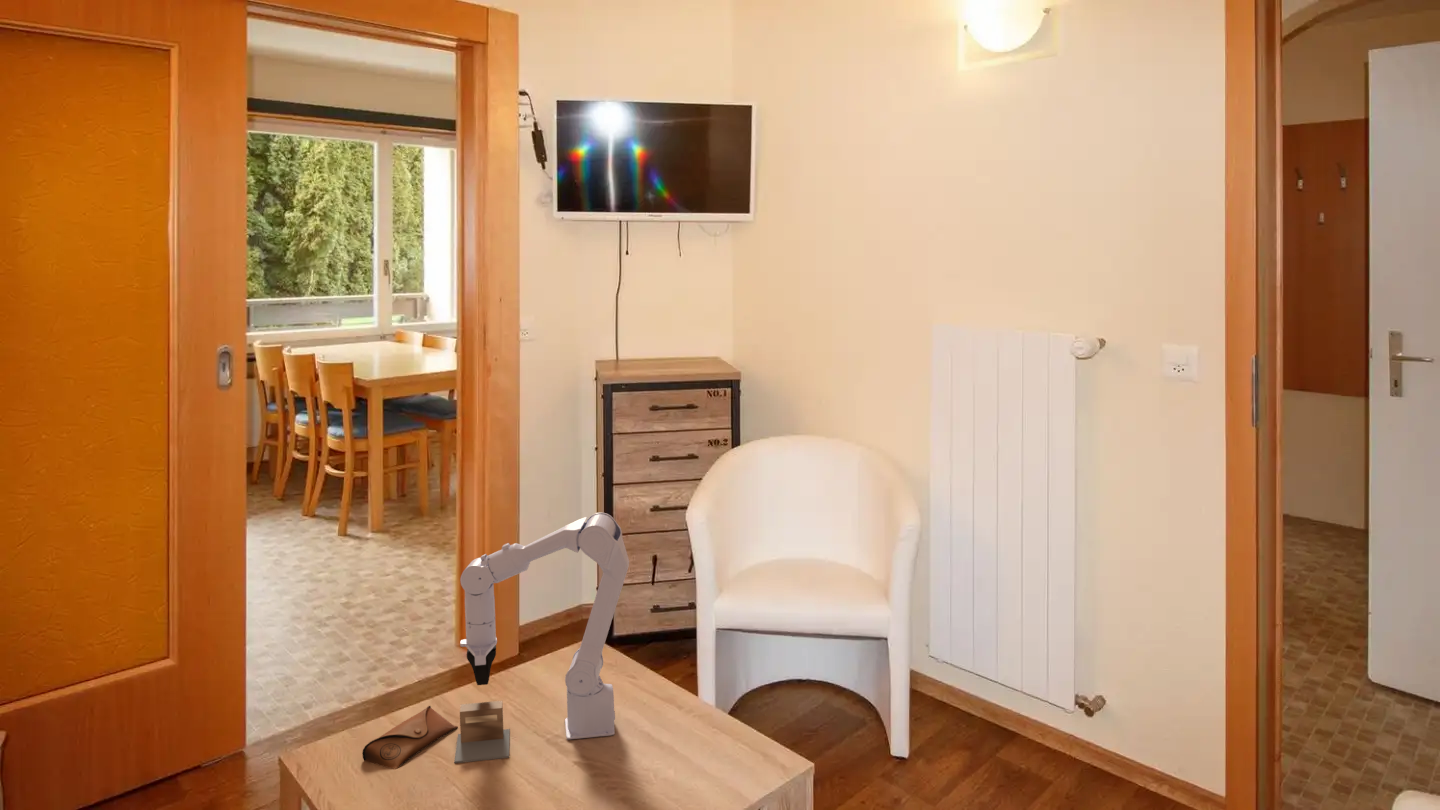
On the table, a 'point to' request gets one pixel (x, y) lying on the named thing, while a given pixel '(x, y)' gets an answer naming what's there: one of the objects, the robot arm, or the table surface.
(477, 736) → the brown rectangular block
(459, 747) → the felt mat
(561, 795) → the table surface
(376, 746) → the sunglasses case
